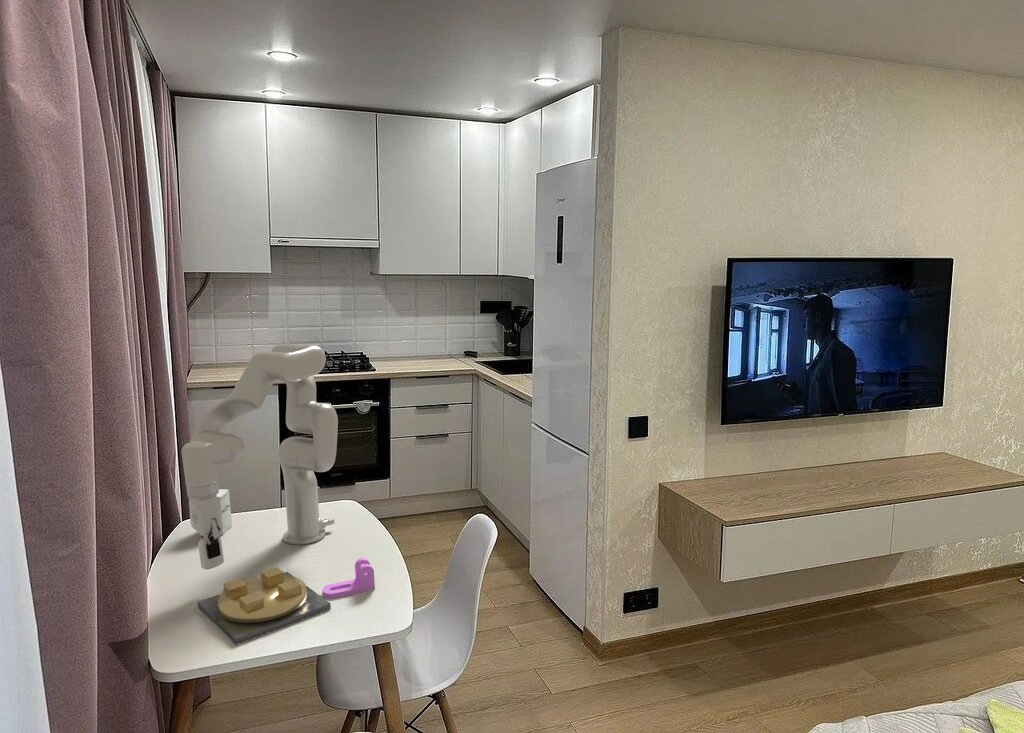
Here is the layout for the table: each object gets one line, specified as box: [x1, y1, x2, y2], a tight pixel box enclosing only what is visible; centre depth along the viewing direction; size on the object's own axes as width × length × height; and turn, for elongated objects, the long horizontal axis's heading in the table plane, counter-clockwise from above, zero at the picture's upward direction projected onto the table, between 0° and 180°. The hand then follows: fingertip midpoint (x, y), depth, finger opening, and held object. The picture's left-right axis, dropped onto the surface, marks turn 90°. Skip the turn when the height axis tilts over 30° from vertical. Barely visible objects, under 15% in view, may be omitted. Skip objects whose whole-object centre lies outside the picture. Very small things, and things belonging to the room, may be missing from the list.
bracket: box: [321, 557, 376, 599], centre depth 197 cm, size 13×6×7 cm, turn 114°
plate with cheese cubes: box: [218, 566, 307, 623], centre depth 188 cm, size 21×21×4 cm
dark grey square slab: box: [197, 571, 332, 645], centre depth 189 cm, size 24×24×2 cm
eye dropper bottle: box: [198, 530, 225, 570], centre depth 197 cm, size 4×6×12 cm
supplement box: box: [216, 488, 233, 536], centre depth 237 cm, size 7×7×13 cm
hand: (211, 553), depth 198 cm, fingers closed on eye dropper bottle, 3 cm apart
